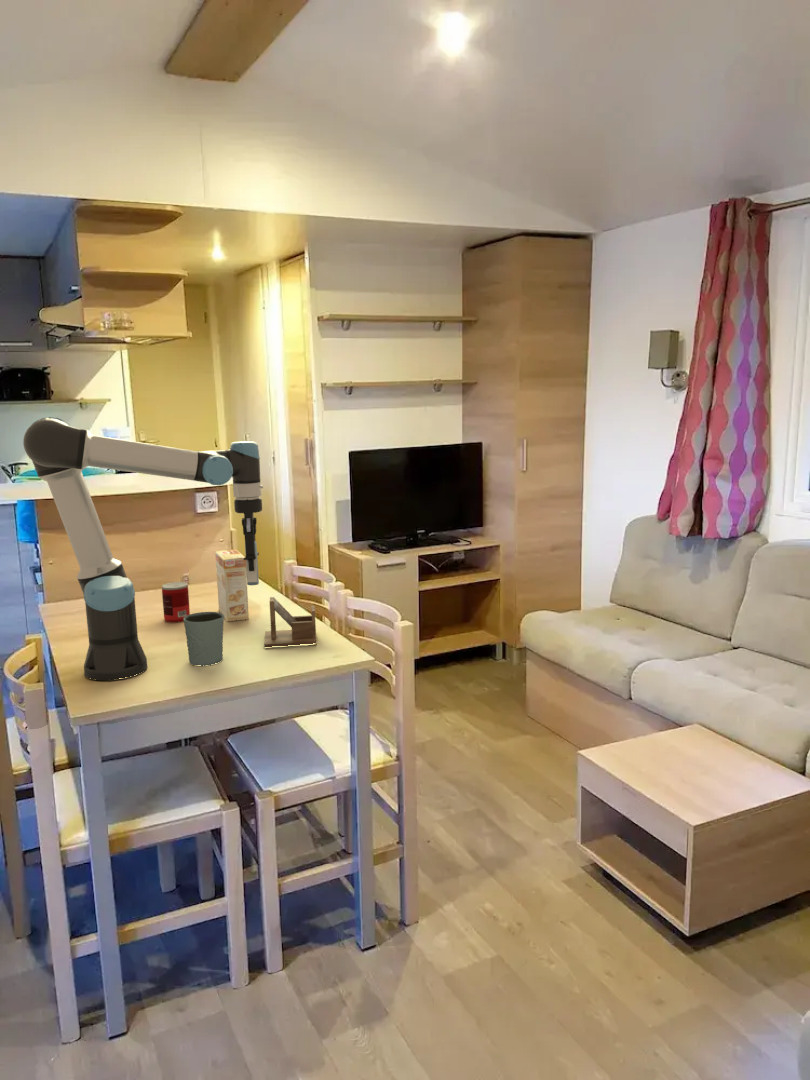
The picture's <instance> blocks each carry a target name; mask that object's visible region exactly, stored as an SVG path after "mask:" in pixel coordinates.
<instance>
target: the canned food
mask: <svg viewBox="0 0 810 1080" xmlns="http://www.w3.org/2000/svg"><path fill="white" fill-rule="evenodd" d="M189 594H190V593H189V585H188V583H187V582H183V581H173V582H167V583H165V584H163V585H161V596H162V597H161V598H162V606H163V608H162V610H163V618H164V621H165V622H166V623H172V624H174V623H175V624H176V623H182V622H183V623H184V620H183V618H184V617H185V616H187V615H190V614H191V611H190V597H189V596H190V595H189Z"/></svg>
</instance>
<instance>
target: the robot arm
mask: <svg viewBox="0 0 810 1080" xmlns="http://www.w3.org/2000/svg"><path fill="white" fill-rule="evenodd" d="M22 443H23V448H24V452H25V453H26V455H27V457H28V458H29V459H30V460H31V462H32V464H33V467H34V470H35V471H36V474H37V476H38V479H40V480H43V481H44V482H47V484H48V485H47V486H48V488H49V491H50V493H51V495H52V499H53V501H54V503H55V505H56V508H57V511H58V514H59V516H60V519H61V521H62V524H63V527H64V529H65V530H64V531H65V533H66V534H67V537H68V539H69V543H70V546H71V548H72V551H73V553H74V555H75V558H76V561H77V563H78V566H79V571H78V573H77V575H76V578H77V581H78V584H79V587H80V589H81V591H82V594H83V600H84V602H85V603H84V604H85V614H86V623H87V625H86V626H87V637H88V649H87V651H86V656H85V661H84V664H83V674H84V677H85V676H86V677H88V678H91V679H96V680H113V681H115V680H114V679H119V678H125V677H130V676H133V677H135V676H134V675H136V674H139V673H141V672H142V673H144V672H145V671H147V669H148V658H147V656H146V654H145V652H144V649H143V646H142V645H141V643H140V640H139V637H138V636H139V635H138V624H137V612H136V611H137V610H136V601H135V599H136V598H135V596H136V590H135V588H134V583H133V582H132V580H131V579H129V578H128V576H127V574H126V572H125V568H124V565H123V563H122V561H121V560H119V559H116V558H114V555H113V553H112V551H111V548H110V545H109V543H108V540H107V536H106V535H105V531H104V529H103V525H102V523H101V521H100V517H99V514H98V513H97V509H96V506H95V504H94V502H93V499H92V497H91V494H90V490H89V488H88V486H87V483H86V480H85V478H84V475H83V470H85V469H86V468H88V467H93V468H99V469H108V470H113V471H115V470H116V471H121V472H130V473H137V474H143V475H150V476H158V477H163V478H174V479H181V480H187V481H193V482H199V483H208V484H210V485H213V486H223V485H225V484H227V483H228V482H229V481H230V480H231V478H232V490H233V491H232V492H233V498H235V499H234V500H233V503H234V504H233V505H234V512H235V513H237V514H243V517H242V518H241V526H242V533H243V536H244V549H246V555H245V556H244V557H245V558H244V560H246V565H247V571H246V575H247V582H257V565H256V559H255V558H256V555H255V541H256V534H257V517H256V516H255V517H254V513H255V514H257V513H260V512H262V511H263V499H262V497H261V496H262V490H261V489H264V485H262V484H261V483H262V482H261V467H260V465H261V464H260V459H261V458H260V453H259V451H260V450H259V445H258V443H257V442H256V441H253V440H252V441H250V440H249V441H247V440H244V441H242V440H241V441H233V442H231V443H230V448H229V449H225V450H222V449H221V450H203V451H202V450H196V451H195V450H190V449H185V448H177V447H173V446H172V447H171V446H165V445H159V444H152V443H145V442H139V441H134V440H127V439H121V438H120V439H119V438H114V437H106V436H102V435H101V436H100V435H96V434H92V433H91V431H89V430H88V429H82V428H78V427H74V426H71V425H70V424H69V423H68V422H66V421H65V420H63V419H61V418H58V417H53V416H48V417H42V418H39V419H37V420H36V421H34V422H33V423H32V424H30V426H29V427H28V428H27V429H26V431H25V433H24V435H23V441H22ZM256 542H257V541H256ZM259 554H260V553H259V552H258V551H257V556H259ZM143 671H144V672H143ZM142 673H141V674H142ZM139 675H140V674H139ZM136 676H137V675H136ZM86 677H85V678H86ZM88 678H87V679H88ZM130 678H131V677H130ZM91 679H90V680H91ZM96 680H95V681H96Z"/></svg>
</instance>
